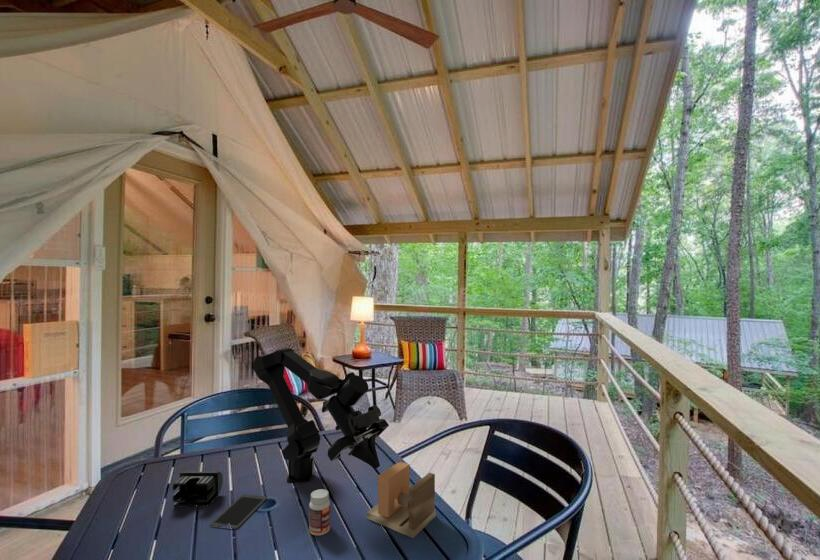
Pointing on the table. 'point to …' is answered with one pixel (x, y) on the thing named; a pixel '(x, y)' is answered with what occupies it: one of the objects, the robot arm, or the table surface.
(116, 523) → the table surface
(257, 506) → the cell phone
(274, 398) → the robot arm
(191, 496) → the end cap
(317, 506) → the pill bottle
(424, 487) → the pipe board
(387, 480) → the wooden board
